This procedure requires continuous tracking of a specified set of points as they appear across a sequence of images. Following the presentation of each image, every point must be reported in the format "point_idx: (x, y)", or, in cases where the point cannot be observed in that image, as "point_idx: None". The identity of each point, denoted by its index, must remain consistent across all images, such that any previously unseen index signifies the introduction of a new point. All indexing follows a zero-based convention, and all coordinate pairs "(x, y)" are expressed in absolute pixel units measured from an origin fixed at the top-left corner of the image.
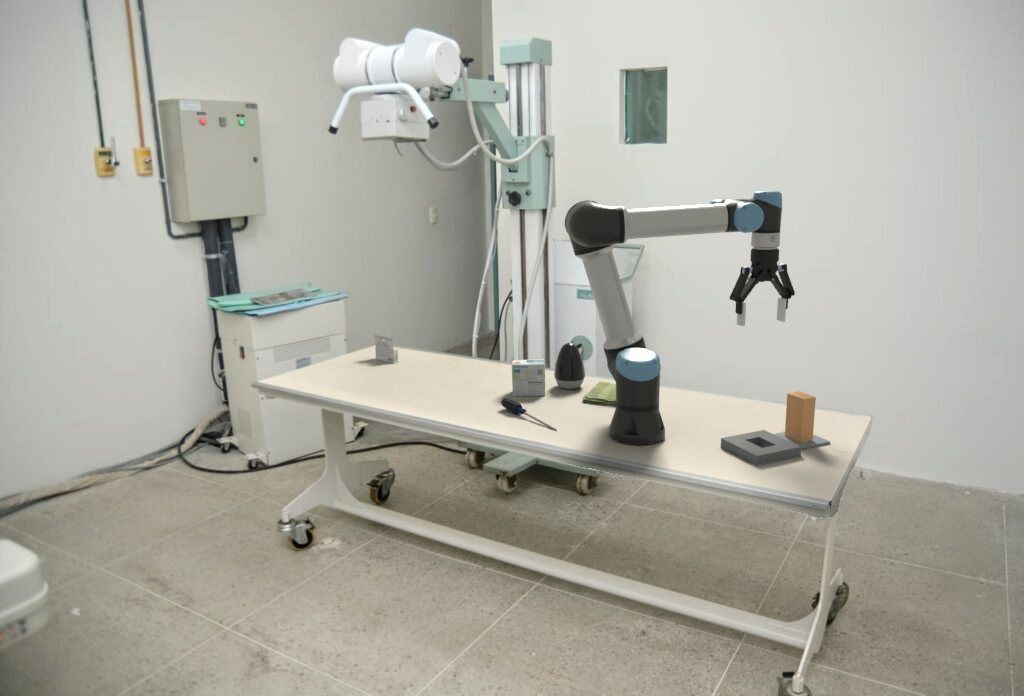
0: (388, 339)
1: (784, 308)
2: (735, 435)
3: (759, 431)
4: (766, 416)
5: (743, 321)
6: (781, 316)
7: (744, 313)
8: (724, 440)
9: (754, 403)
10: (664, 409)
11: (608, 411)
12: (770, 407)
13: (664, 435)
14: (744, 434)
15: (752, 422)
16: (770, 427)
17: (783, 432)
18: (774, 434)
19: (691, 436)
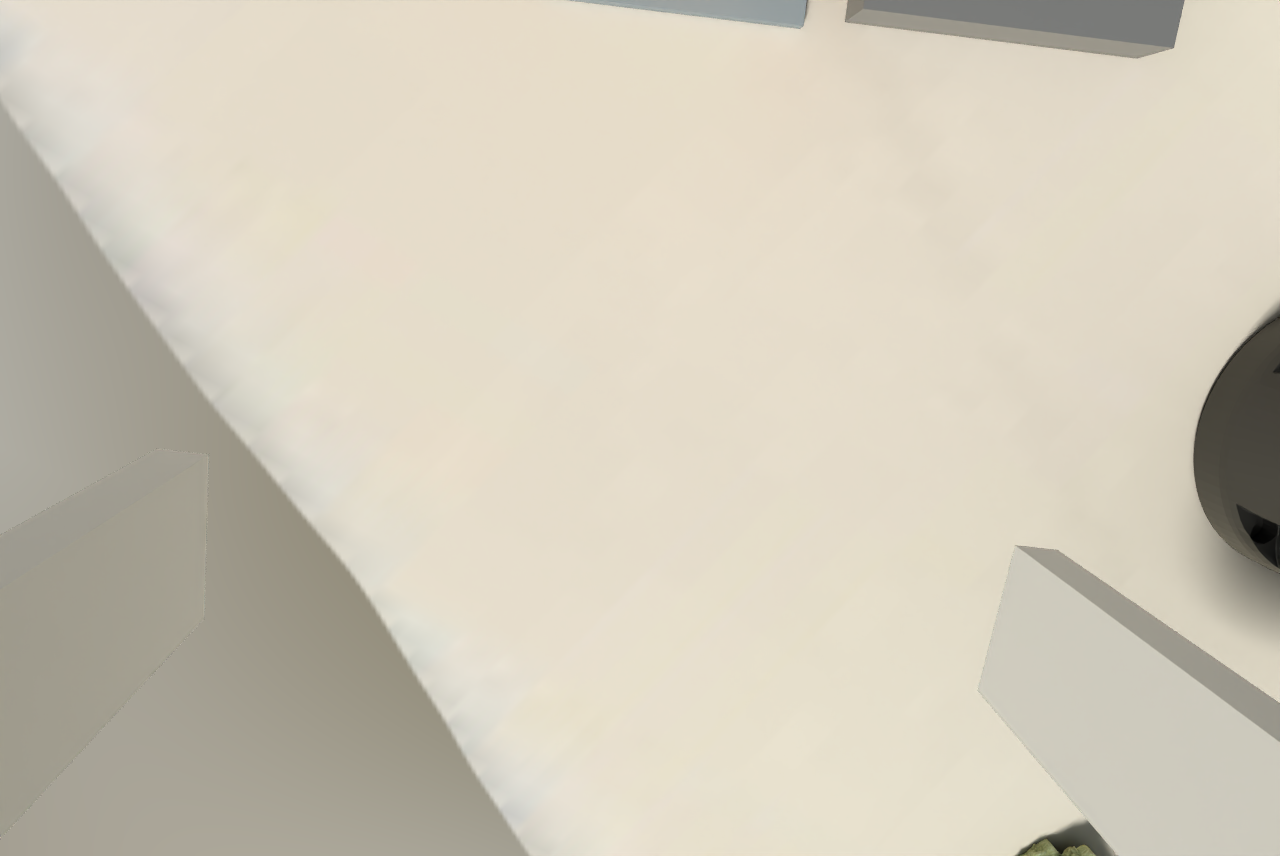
0: None
1: (36, 546)
2: (1076, 33)
3: (906, 3)
4: (528, 314)
5: (1091, 583)
6: (165, 534)
7: (1184, 654)
8: (1177, 14)
9: (411, 532)
10: (918, 691)
11: None
12: (380, 428)
13: (1277, 329)
14: (1020, 15)
15: (680, 277)
16: (657, 151)
17: (693, 5)
18: (767, 9)
19: (1126, 281)
